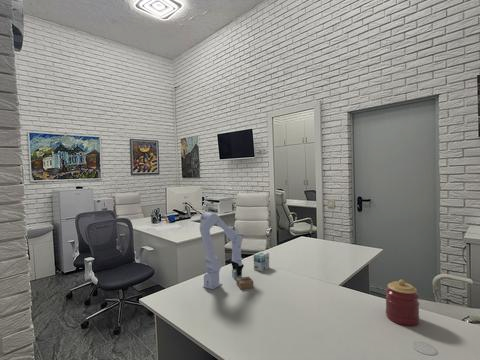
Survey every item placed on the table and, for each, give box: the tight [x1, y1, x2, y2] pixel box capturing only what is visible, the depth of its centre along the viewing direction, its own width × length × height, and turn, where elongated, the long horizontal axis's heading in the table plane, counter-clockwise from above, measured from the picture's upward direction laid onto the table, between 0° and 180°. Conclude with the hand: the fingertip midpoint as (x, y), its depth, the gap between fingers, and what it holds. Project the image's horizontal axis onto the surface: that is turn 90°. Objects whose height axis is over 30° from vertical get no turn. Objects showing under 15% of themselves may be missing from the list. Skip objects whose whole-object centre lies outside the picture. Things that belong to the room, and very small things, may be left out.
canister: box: [385, 279, 420, 327], centre depth 119 cm, size 13×13×18 cm
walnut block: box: [236, 276, 254, 290], centre depth 158 cm, size 8×8×4 cm
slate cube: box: [231, 268, 243, 280], centre depth 171 cm, size 5×5×5 cm
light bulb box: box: [253, 250, 270, 272], centre depth 187 cm, size 11×7×11 cm, turn 143°
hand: (237, 273), depth 171 cm, fingers open, 7 cm apart
